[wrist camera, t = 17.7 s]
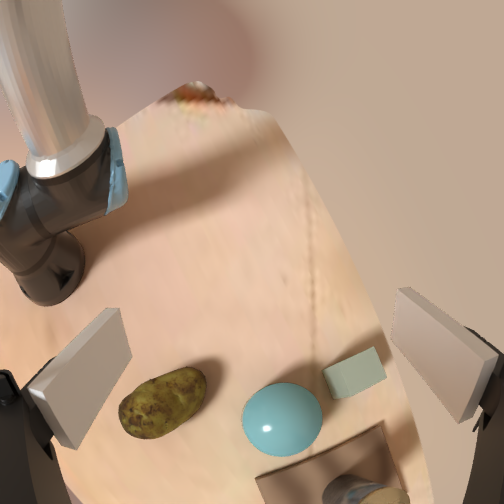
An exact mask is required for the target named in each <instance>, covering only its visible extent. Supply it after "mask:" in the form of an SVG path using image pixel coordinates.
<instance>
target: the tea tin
mask: <svg viewBox="0 0 504 504" xmlns="http://www.w3.org/2000/svg"><path fill="white" fill-rule="evenodd" d="M322 503H323V504H410V499H409V496H408V494H407V493H406V492H405V491H404V490H402V489H399V488H395V487H389V486H386V485H383V484H380V483H377V482H374V481H371V480H368V479H365V478H362V477H359V476H357V475H353V474H347V475H342V476H339V477H337V478H335V479H334V480H332V481H331V482H330V483H329V484H328V485H327V486H326V488H325V490H324V492H323V495H322Z"/></svg>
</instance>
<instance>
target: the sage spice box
mask: <svg viewBox="0 0 504 504" xmlns="http://www.w3.org/2000/svg"><path fill="white" fill-rule="evenodd" d="M322 372H323V375H324V377H325V380H326V382H327V385H328V387H329V390H330V392H331V395H332V398H333V399H338V398H345V397H351V396H353V395H355V394H357V393H359V392H361V391H363V390H365V389H367V388H369V387H371V386H373V385H375V384H376V383H378V382H380V381H382V380H384V379H385V378H387V376H386V374H385V371H384V369H383V366H382V364H381V361H380V359H379V357H378V354H377V352H376V350H375V347H374V346H373V347H371V348H369V349H367V350H365V351H363V352H361V353H359V354H357V355H354V356H352V357H350V358H348V359H346V360H343V361H341V362H339V363H337V364H335V365H332V366H330V367H328V368H326V369H324V370H322Z"/></svg>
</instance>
